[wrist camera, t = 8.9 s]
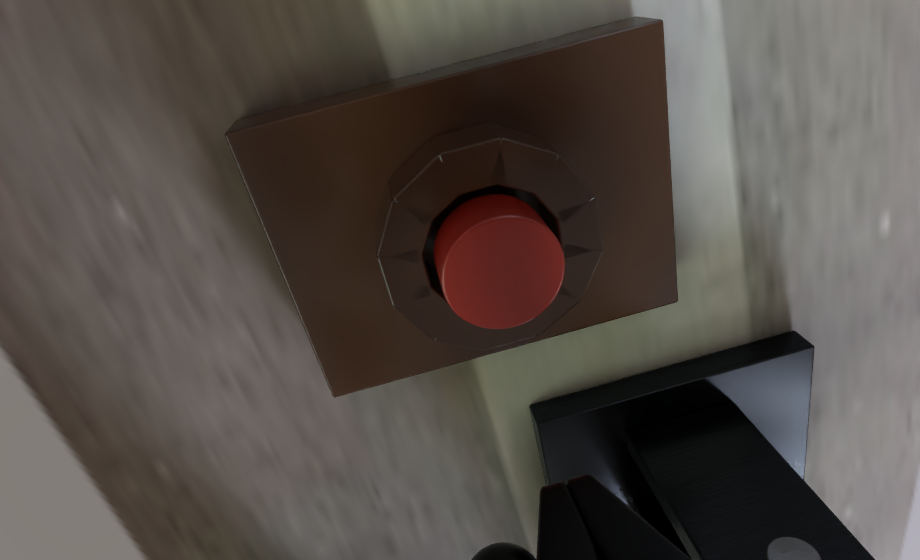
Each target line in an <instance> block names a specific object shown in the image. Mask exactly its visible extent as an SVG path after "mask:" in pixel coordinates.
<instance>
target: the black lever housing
mask: <svg viewBox="0 0 920 560" xmlns="http://www.w3.org/2000/svg"><path fill="white" fill-rule="evenodd" d="M813 357H814V346H813V345H812V344H811V343H809V342H808V341H807V340H806V339H804V338H803V337H802V336H801V335H799V334H798V333H797V332H796V331H791V332H787V333H784V334H780V335H777V336H773V337H770V338H766V339H763V340H759V341H756V342H752V343H749V344H745V345H741V346H738V347H734V348H731V349H727V350H724V351H720V352H717V353H713V354H710V355H706V356H703V357H699V358H696V359H692V360H689V361H685V362H681V363H678V364H674V365H671V366H667V367H664V368H660V369H657V370H653V371H650V372H646V373H643V374H639V375H636V376H632V377H628V378H625V379H621V380H618V381H614V382H611V383H607V384H604V385H600V386H597V387H593V388H590V389H586V390H583V391H579V392H575V393H572V394H568V395H565V396H561V397H558V398H554V399H551V400H547V401H544V402H540V403H537V404H533V405H530V412H531V417H532V421H533V426H534V431H535V435H536V440H537V445H538V449H539V454H540V459H541V463H542V468H543V473H544V477H545V482H546V486H547V485H550V484H553V483H557V482H564V483H565V484H566V482H567V480H569V479H571V478H574V477H578V476H581V475H585V474H589V475H592V476H593V477H595V478H596V479H597V480H598V481H599V482H600V483H602V484H603V485H604V486H605V487H606V488H608V489H609V490H610V491H611V492H612V493H613V494H615V495H616V496H617V497H618V498H619V499H621V500H622V501H623V502H624V503H625V504H626V505H628V506H629V507H630V508H631V509H632V510H634V511H635V512H636V513H637V514H638V515H639V516H641V517H642V518H643V519H644V520H645V521H647V522H648V523H649V524H650V525H651V526H653V527H654V528H655V529H656V530H657V531H658V532H660V533H661V534H662V535H663V536H664V537H666V538H667V539H668V540H669V541H670V542H671V543H673V544H674V545H675V546H676V547H677V548H679V549H680V550H681V551H682V552H683V553H684V554H686V555H687V556H688V557H689V558H690V559H692V560H875V559H874V558H873V557H872V556H871V555H870V554H869V552H868V551H867V550H866V549H865V548H864V547H863V546H862V545H861V544H860V542H859V541H858V540H857V539H856V538H855V537H854V536H853V535H852V534H851V532H850V531H849V530H848V529H847V528H846V527H845V526H844V525H843V524H842V522H841V521H840V520H839V519H838V518H837V517H836V516H835V515H834V513H833V512H832V511H831V510H830V509H829V508H828V507H827V506H826V505H825V503H824V502H823V501H822V500H821V499H820V498H819V497H818V496H817V495H816V493H815V492H814V491H813V490H812V489H811V488H810V487H809V486H808V485H807V483H806V482H805V481H804V473H805V460H806V447H807V434H808V421H809V409H810V396H811V383H812V370H813Z"/></svg>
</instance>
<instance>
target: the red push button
mask: <svg viewBox="0 0 920 560" xmlns="http://www.w3.org/2000/svg"><path fill="white" fill-rule="evenodd" d="M433 252H434V262H435V266H436V270H437V273H438V277H439V280H440V284H441V288H442V291H443V294H444V297H445V299H446V301H447V303H448V305H449V306H450V307H451V309H452V310H453V311H454V312H455V313H456V314H457V315H458V316H459V317H461V318H462V319H463V320H465V321H467V322H469V323H471V324H473V325H476V326H478V327H482V328H487V329H507V328H512V327H516V326H519V325H522V324H524V323H526V322H529V321H530V320H532V319H534V318H535V317H537V316H538V315H540V314H541V313H542V312H543V311H544V310H545V309H546V308H547V307H548V306H549V305H550V304H551V303H552V302H553V300H554V299H555V297H556V296H557V294H558V292H559V290H560V288H561V285H562V282H563V278H564V273H565V258H564V253H563V250H562V247H561V245H560V243H559V241H558V239H557V237H556V236H555V235H554V234H553V232H552V231H551V230H550V228H549V227H548V226H547V225H546V223H545V222H544V221H543V220H542V218H541V217H540V216H539V214H538V213H537V212H536V211H535V210H534V209H533V208H532V207H531V206H530V205H529V204H527V203H526V202H524V201H523V200H520V199H518V198H516V197H513V196H510V195H504V194H487V195H482V196H478V197H475V198H472V199H470V200H468V201H466V202H464V203H462V204H461V205H459V206H458V207H457V208H455V209H454V210H453V211H452V212H451V213H450V214H449V215H448V216H447V217H446V219H445V220H444V221H443V223H442V224H441V226H440V228H439V230H438V232H437V235H436V238H435V242H434V251H433Z"/></svg>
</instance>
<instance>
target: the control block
mask: <svg viewBox="0 0 920 560" xmlns="http://www.w3.org/2000/svg"><path fill="white" fill-rule="evenodd" d="M225 138H226V140H227V143H228V145H229V147H230V150H231V152H232V155H233V157H234V160H235V162H236V164H237V167H238V169H239V172H240V174H241V176H242V179H243V181H244V184H245V186H246V188H247V191H248V193H249V196H250V198H251V200H252V203H253V205H254V208H255V210H256V213H257V215H258V217H259V220H260V222H261V225H262V227H263V229H264V232H265V234H266V237H267V239H268V241H269V244H270V246H271V249H272V251H273V254H274V256H275V258H276V261H277V263H278V266H279V268H280V270H281V273H282V275H283V278H284V280H285V282H286V285H287V287H288V290H289V292H290V295H291V297H292V299H293V302H294V304H295V307H296V309H297V311H298V314H299V316H300V319H301V321H302V323H303V326H304V328H305V331H306V333H307V336H308V338H309V340H310V343H311V345H312V348H313V350H314V352H315V355H316V357H317V360H318V362H319V364H320V367H321V369H322V372H323V374H324V377H325V379H326V381H327V384H328V386H329V389H330V391H331V393H332V396H333V397H339V396H342V395H346V394H349V393H353V392H356V391H360V390H364V389H367V388H371V387H374V386H378V385H382V384H385V383H389V382H392V381H396V380H399V379H403V378H407V377H410V376H414V375H417V374H421V373H425V372H428V371H432V370H435V369H439V368H442V367H446V366H450V365H453V364H457V363H460V362H464V361H468V360H471V359H475V358H478V357H482V356H485V355H489V354H493V353H496V352H500V351H503V350H507V349H511V348H514V347H518V346H521V345H525V344H528V343H532V342H536V341H539V340H543V339H546V338H550V337H554V336H557V335H561V334H564V333H568V332H571V331H575V330H579V329H582V328H586V327H589V326H593V325H597V324H600V323H604V322H607V321H611V320H614V319H618V318H622V317H625V316H629V315H632V314H636V313H640V312H643V311H647V310H650V309H654V308H657V307H661V306H665V305H668V304H672V303H675V302H677V301H678V292H677V273H676V254H675V236H674V217H673V198H672V180H671V161H670V142H669V123H668V105H667V86H666V67H665V48H664V30H663V21H662V20H660V19H652V18H645V17H637V16H636V17H632V18H628V19H624V20H620V21H616V22H613V23H609V24H605V25H601V26H597V27H593V28H589V29H586V30H582V31H578V32H574V33H570V34H566V35H563V36H559V37H555V38H551V39H547V40H543V41H539V42H536V43H532V44H528V45H524V46H520V47H516V48H513V49H509V50H505V51H501V52H497V53H493V54H489V55H486V56H482V57H478V58H474V59H470V60H466V61H463V62H459V63H455V64H451V65H447V66H443V67H439V68H436V69H432V70H428V71H424V72H420V73H416V74H413V75H409V76H405V77H401V78H397V79H393V80H389V81H386V82H382V83H378V84H374V85H370V86H366V87H363V88H359V89H355V90H351V91H347V92H343V93H339V94H336V95H332V96H328V97H324V98H320V99H316V100H312V101H309V102H305V103H301V104H297V105H293V106H289V107H286V108H282V109H278V110H274V111H270V112H266V113H262V114H259V115H255V116H251V117H247V118H243V119H239V120H237V121H235V122H234V124H233V125H232V126H231V127H230V128H229V130H228V131H227V132H226V133H225ZM487 194H504V195H510V196H513V197H516V198H518V199H520V200H523V201H524V202H526V203H527V204H529V205H530V206H531V207H532V208H533V209H534V210H535V211H536V212H537V213H538V214H539V216H540V217H541V218H542V220H543V221H544V222H545V223H546V225H547V226H548V227H549V228H550V230H551V231H552V232H553V234H554V235H555V236H556V237H557V239H558V241H559V243H560V245H561V247H562V250H563V253H564V258H565V273H564V278H563V282H562V285H561V288H560V290H559V292H558V294H557V296H556V297H555V299H554V300H553V302H552V303H551V304H550V305H549V306H548V307H547V308H546V309H545V310H544V311H543V312H542V313H541V314H540V315H538V316H537V317H535V318H534V319H532V320H530V321H529V322H526V323H524V324H522V325H519V326H516V327H512V328H507V329H487V328H482V327H478V326H476V325H473V324H471V323H469V322H467V321H465V320H463V319H462V318H461V317H459V316H458V315H457V314H456V313H455V312H454V311H453V310H452V309H451V307H450V306H449V305H448V303H447V301H446V299H445V297H444V294H443V291H442V288H441V284H440V280H439V277H438V273H437V270H436V266H435V262H434V252H433V251H434V242H435V238H436V235H437V232H438V230H439V228H440V226H441V224H442V223H443V221H444V220H445V219H446V217H447V216H448V215H449V214H450V213H451V212H452V211H453V210H454V209H455V208H457V207H458V206H459V205H461V204H462V203H464V202H466V201H468V200H470V199H472V198H475V197H478V196H482V195H487Z"/></svg>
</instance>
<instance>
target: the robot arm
mask: <svg viewBox="0 0 920 560" xmlns="http://www.w3.org/2000/svg"><path fill="white" fill-rule="evenodd" d="M537 560H692V559H690V558H689V557H688V556H687V555H686V554H684V553H683V552H682V551H681V550H680V549H679V548H677V547H676V546H675V545H674V544H673V543H671V542H670V541H669V540H668V539H667V538H666V537H664V536H663V535H662V534H661V533H660V532H658V531H657V530H656V529H655V528H654V527H653V526H651V525H650V524H649V523H648V522H647V521H645V520H644V519H643V518H642V517H641V516H639V515H638V514H637V513H636V512H635V511H634V510H632V509H631V508H630V507H629V506H628V505H626V504H625V503H624V502H623V501H622V500H621V499H619V498H618V497H617V496H616V495H615V494H613V493H612V492H611V491H610V490H609V489H608V488H606V487H605V486H604V485H603V484H602V483H600V482H599V481H598V480H597V479H596V478H595V477H593V476H592V475H589V474H585V475H581V476H578V477H574V478H571V479H569V480H567V482H566V484H565V483H564V482H557V483H553V484H550V485H547V486H544V487H542V488H541V490H540V505H539V524H538V543H537Z"/></svg>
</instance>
